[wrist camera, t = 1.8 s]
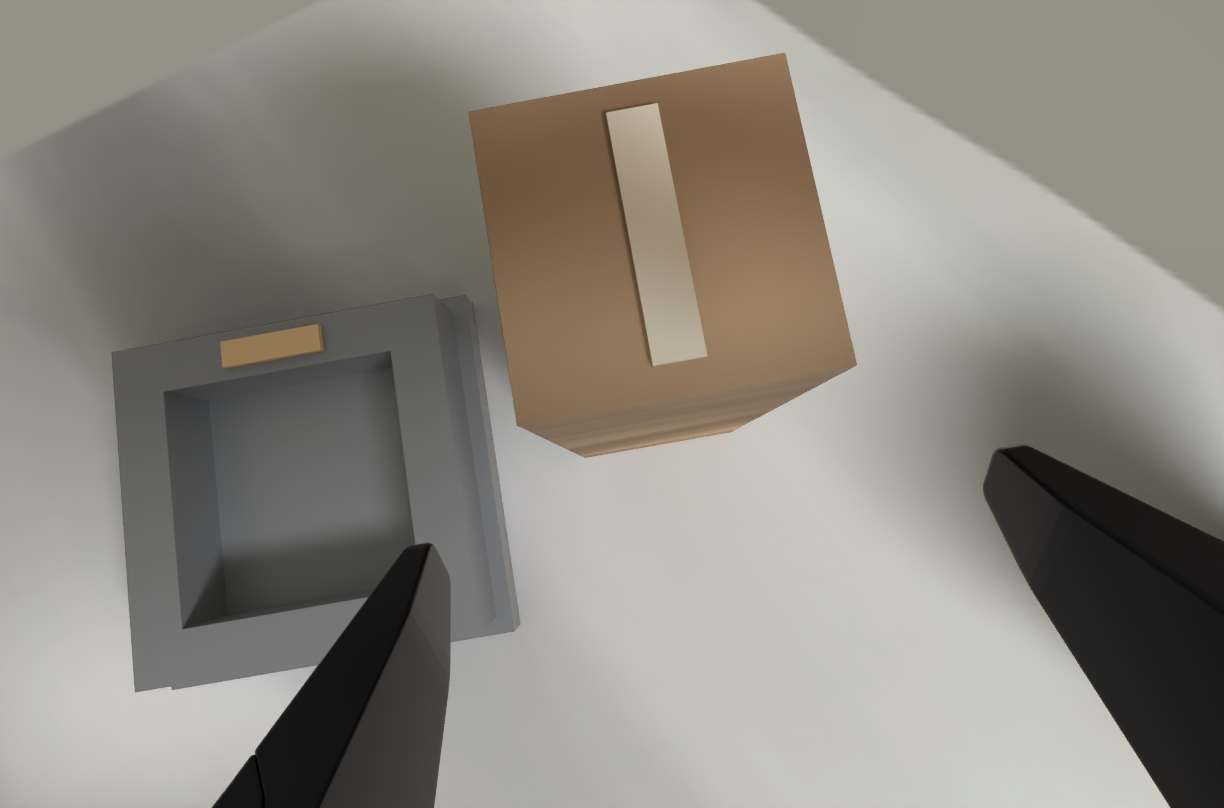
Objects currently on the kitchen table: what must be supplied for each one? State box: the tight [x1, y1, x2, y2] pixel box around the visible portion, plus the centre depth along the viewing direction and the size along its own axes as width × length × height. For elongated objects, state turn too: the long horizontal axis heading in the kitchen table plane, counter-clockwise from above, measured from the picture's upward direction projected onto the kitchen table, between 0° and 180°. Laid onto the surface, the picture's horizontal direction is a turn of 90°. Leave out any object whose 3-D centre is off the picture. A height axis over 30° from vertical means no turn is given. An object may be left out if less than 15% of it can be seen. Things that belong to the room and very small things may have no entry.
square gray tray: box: [112, 294, 520, 692], centre depth 19 cm, size 11×11×3 cm
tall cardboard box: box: [469, 53, 857, 458], centre depth 15 cm, size 5×5×12 cm
